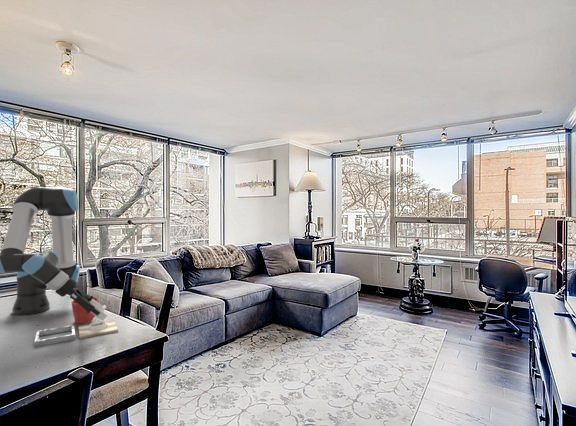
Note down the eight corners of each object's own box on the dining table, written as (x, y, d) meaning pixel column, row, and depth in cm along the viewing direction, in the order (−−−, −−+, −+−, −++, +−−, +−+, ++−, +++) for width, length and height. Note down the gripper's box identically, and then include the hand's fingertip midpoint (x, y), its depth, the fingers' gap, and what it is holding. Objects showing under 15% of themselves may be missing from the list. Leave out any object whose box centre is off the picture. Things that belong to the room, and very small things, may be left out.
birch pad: (78, 328, 142) (78, 326, 142) (113, 322, 150) (113, 320, 150) (79, 338, 130) (79, 336, 130) (118, 331, 138) (118, 329, 138)
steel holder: (36, 335, 133) (36, 330, 133) (74, 329, 140) (74, 324, 140) (34, 346, 122) (34, 341, 122) (75, 339, 130) (75, 334, 130)
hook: (113, 318, 137) (98, 310, 135) (98, 339, 138) (82, 332, 136) (119, 309, 144) (105, 301, 142) (105, 329, 145) (90, 322, 143)
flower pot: (103, 318, 155) (103, 298, 155) (82, 325, 145) (82, 304, 145) (87, 315, 159) (87, 296, 158) (65, 322, 148) (65, 302, 148)
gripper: (54, 285, 141) (94, 313, 150) (53, 298, 121) (98, 329, 129) (69, 271, 144) (107, 300, 153) (70, 282, 124) (113, 314, 133)
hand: (103, 313), depth 141 cm, fingers open, 13 cm apart
